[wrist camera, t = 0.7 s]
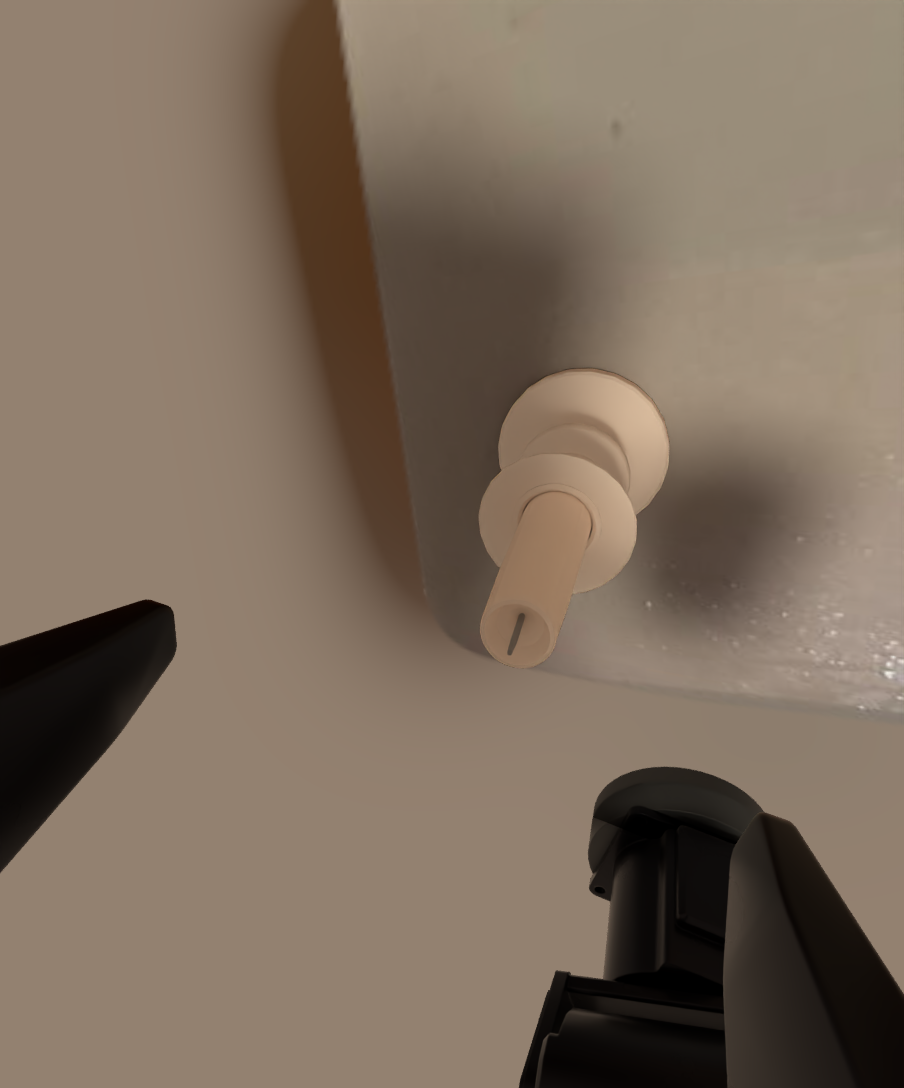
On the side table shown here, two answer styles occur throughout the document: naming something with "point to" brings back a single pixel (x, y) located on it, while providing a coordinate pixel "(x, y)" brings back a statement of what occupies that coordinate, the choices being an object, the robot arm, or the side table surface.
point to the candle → (565, 502)
